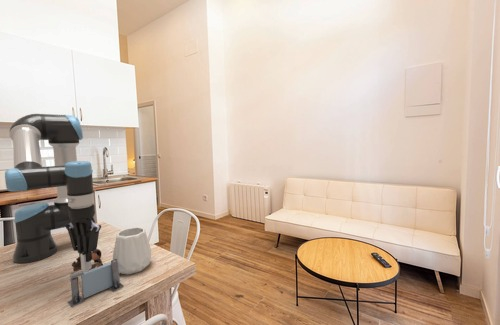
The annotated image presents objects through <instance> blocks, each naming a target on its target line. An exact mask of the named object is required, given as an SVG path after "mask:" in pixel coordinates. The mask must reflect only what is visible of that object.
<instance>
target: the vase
mask: <svg viewBox="0 0 500 325" xmlns="http://www.w3.org/2000/svg"><path fill="white" fill-rule="evenodd" d="M113 259H117V261H118V264H119V274H122V275H128V276H129V275H132V274H136V273H140V272H142V271H143V270H144V269H146V268H147V267H148V266H149V265H150V263H151V260H152V247H151V244H150V241H149V238H148V235H147V232H146V229H145V228H143V227H130V228H125V229H122V230H121V231H119V232H117V234H116V237H115V243H114V248H113V255H112V260H113Z"/></svg>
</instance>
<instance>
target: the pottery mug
mask: <svg viewBox="0 0 500 325" xmlns="http://www.w3.org/2000/svg"><path fill="white" fill-rule="evenodd" d="M101 259H102V251H101V250H100V249H99V248H97V249H96V250H94V251H92V260H91V261H93V262H94V263H95V264H97V265H96V267H95V268H97V267H100V266H103V265H104V264H103V262H102V260H101ZM75 260H76V261H75ZM75 260H74V261H73V262H72V263H71V267H73V268H72V269H73V270H72V271H73V272H78V271H82V269H81V261H80V257H79V256H78V257H77V258H76V259H75Z"/></svg>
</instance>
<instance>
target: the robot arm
mask: <svg viewBox="0 0 500 325" xmlns="http://www.w3.org/2000/svg"><path fill="white" fill-rule="evenodd" d="M83 135H84V134H83V130H82V125H81V122H80V120H79V118H78V117H77V116H76V115H69V114H51V113H50V114H49V113H48V114H47V113H31V114H27V115H25V116H21V117H20V118H18V119H17V120H15V121H14V122H13V123H12V124H11V126H10V128H9V137H10V139H11V141H12V145H13V148H12V149H13V168H9V169H6V170H5V172H4V180H5V188H6V190H7V191H8V192H27V191H32V190H42V189H51V188H56V192H57V197H56V198H55V199H54V201H53V204H51V205H50V204H49V203H48V202H41V203H40V202H39V203H33V204H31V205H27V206H23V207H21V208H19V209H17V210H16V211H14V220H13V222H14V224H15V234H16V246H15V249H14V253H13V256H12V258H13V262H14V263H15V264H27V263H28V264H29V263H33V262H37V261H41V260H43V259H46V258H49V257H51V256H53V255H55V253H57V252H58V245H57V243H56V241H55V240H54V238H53V237H52V232H51V231H53V230H57V229H58V230H59V229H63V228H65V229H66V230H67V234H68V235H69V240H70V243H71V245H72V246H71V247H72V249H73V251H74V252H77V253H78V255H79V256H78V257H80V261H81V269H82V270H81V271H83V272H86V271H89V270H91V269H93V268H92V266H93V265H92V261H93V260H92V252H93V251H94V250H96V249H98V242H99V234H100V230H101V228H102V225H101V224H96V221H95V218H94V216H95V214H96V208H95V194H94V183H93V172H94V171H93V167H92V163H91V161H89V160H87V161H86V160H78V159H77V146H79V144H80V141H81V140H83V139H84V137H83ZM40 140H41V141H48V142H47V143H48V145H49V146H51V147H52V148H53V160H54V165H53V166H43V162H42V156H41V155H42V154H41V148H40Z"/></svg>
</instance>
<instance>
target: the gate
mask: <svg viewBox="0 0 500 325" xmlns="http://www.w3.org/2000/svg"><path fill="white" fill-rule="evenodd" d="M118 275H119V276H120V273H119V264H118ZM76 277H78V278H79V277H80V281H81V293H82V298H83V299H86V298H88V297H90V296H93V295H95V294H97V293H99V292H102V291H105V290H107V289H109V287H112V286H113V283H112V270H111V262H109V263H105V264H103V266H100V267H97V268H96V267H95V268H90V269H89V270H87V271H86V272H83V271H82V270H78V271H75V272H74V273H71V274H69V278H70V279H73V278H76ZM120 279H121V278H120V277H119V283H121V280H120Z"/></svg>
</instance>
